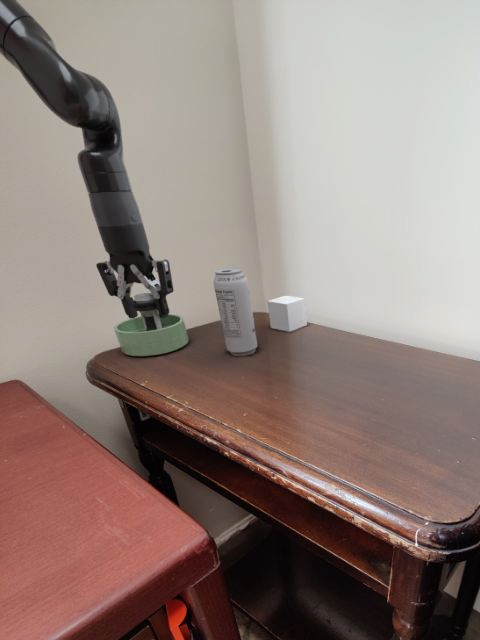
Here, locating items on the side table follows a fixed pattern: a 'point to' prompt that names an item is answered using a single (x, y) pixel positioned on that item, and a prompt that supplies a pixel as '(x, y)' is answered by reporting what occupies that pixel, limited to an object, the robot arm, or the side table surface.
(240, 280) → the energy drink can
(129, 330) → the bowl
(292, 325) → the white cube
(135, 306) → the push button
